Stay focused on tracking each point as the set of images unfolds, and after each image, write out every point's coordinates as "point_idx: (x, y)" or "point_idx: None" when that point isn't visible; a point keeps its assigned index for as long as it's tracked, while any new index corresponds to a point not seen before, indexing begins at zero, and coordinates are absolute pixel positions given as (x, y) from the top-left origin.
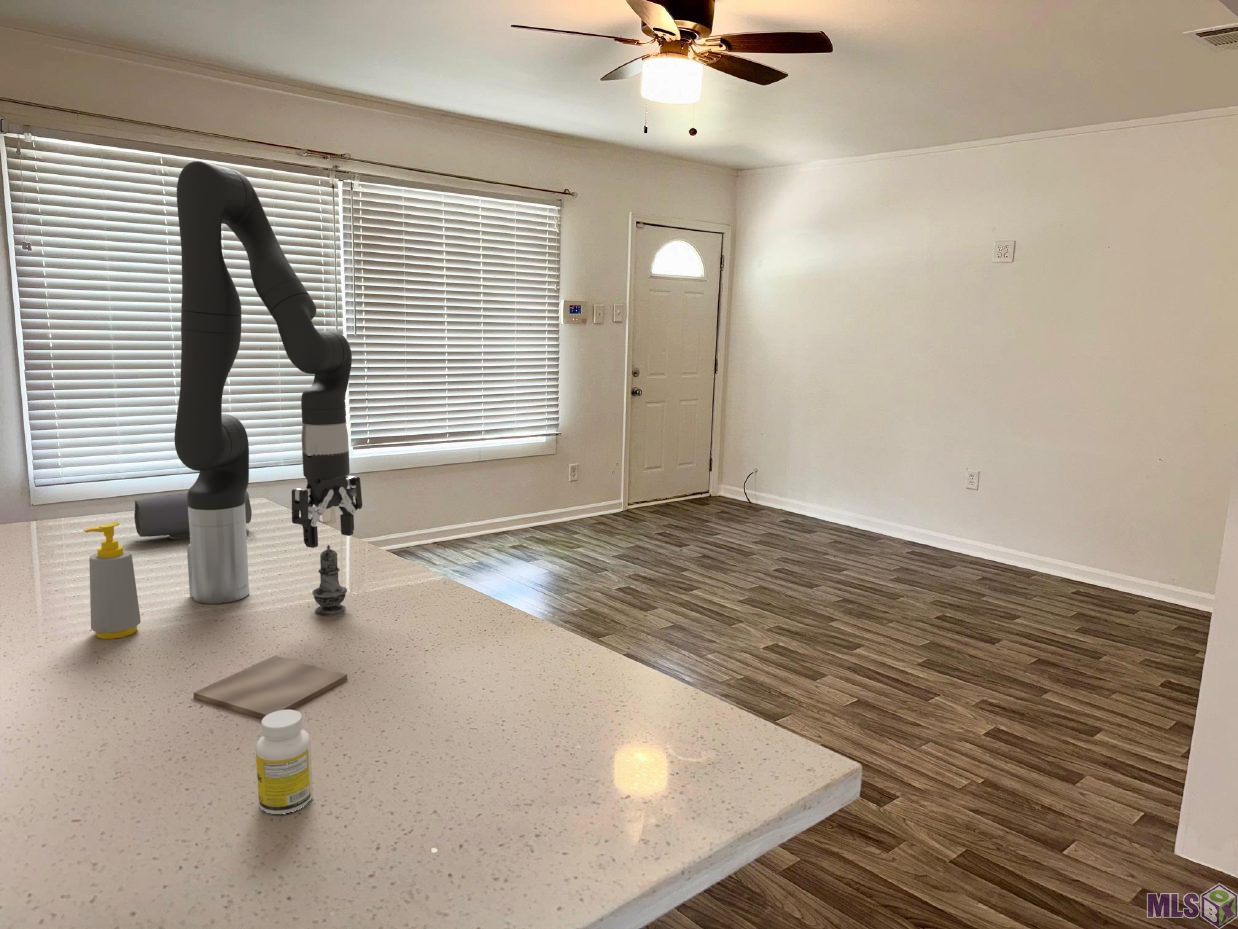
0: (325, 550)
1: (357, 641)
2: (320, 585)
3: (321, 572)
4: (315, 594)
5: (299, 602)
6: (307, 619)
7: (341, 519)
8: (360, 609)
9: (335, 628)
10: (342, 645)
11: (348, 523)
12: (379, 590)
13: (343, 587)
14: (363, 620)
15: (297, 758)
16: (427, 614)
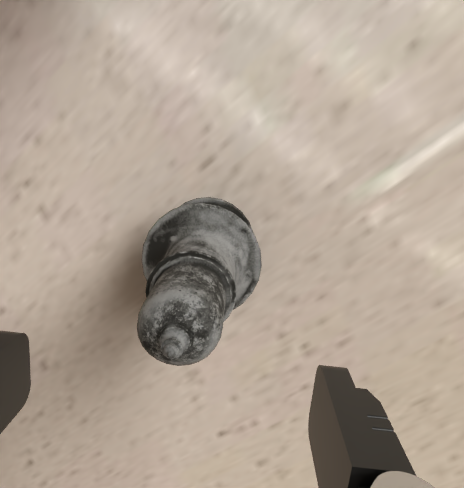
0: (161, 329)
1: (66, 424)
2: (168, 253)
3: (147, 287)
4: (148, 243)
5: (227, 104)
6: (119, 229)
7: (339, 443)
8: (251, 314)
9: (104, 336)
10: (30, 409)
11: (323, 483)
12: (425, 271)
13: (248, 286)
14: (183, 366)
15: None
16: (288, 477)
